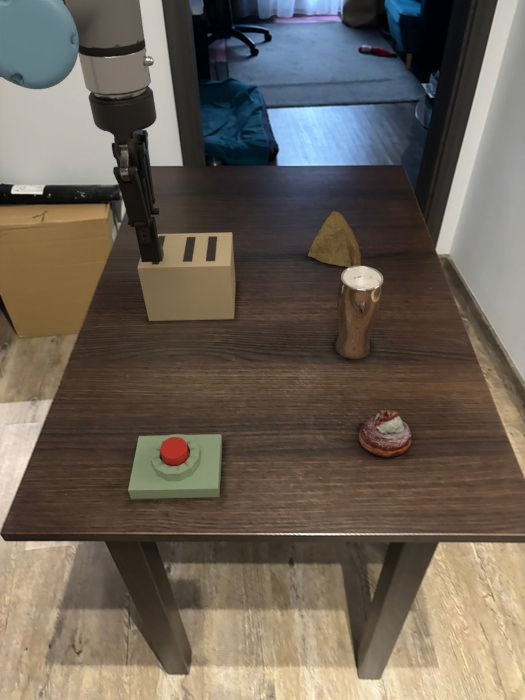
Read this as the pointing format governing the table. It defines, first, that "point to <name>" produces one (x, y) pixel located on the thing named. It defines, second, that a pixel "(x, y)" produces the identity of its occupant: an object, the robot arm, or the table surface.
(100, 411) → the table surface
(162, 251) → the button
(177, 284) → the toaster
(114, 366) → the table surface
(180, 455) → the red button
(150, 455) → the control block
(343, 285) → the beer glass
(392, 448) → the pastry
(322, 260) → the rock
